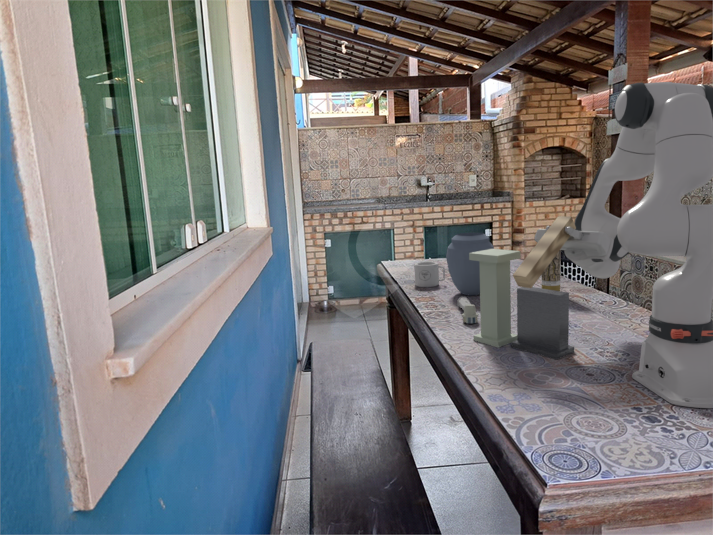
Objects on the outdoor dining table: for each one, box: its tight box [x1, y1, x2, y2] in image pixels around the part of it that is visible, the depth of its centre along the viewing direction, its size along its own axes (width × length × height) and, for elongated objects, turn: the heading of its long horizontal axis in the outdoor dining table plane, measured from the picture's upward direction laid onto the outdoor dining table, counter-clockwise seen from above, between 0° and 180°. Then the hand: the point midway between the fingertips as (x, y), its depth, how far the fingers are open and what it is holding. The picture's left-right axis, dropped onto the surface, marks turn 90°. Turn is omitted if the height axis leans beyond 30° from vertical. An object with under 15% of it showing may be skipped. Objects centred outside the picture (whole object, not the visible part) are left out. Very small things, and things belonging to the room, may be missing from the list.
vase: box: [445, 232, 495, 296], centre depth 208 cm, size 20×20×24 cm
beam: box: [512, 215, 576, 288], centre depth 136 cm, size 24×4×4 cm
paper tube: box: [541, 250, 562, 291], centre depth 198 cm, size 7×7×25 cm
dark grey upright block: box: [510, 286, 575, 360], centre depth 138 cm, size 8×14×16 cm, turn 36°
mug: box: [413, 260, 446, 288], centre depth 230 cm, size 14×11×10 cm
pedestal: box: [469, 248, 522, 348], centre depth 148 cm, size 10×10×26 cm
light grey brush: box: [456, 296, 479, 324], centre depth 178 cm, size 5×7×25 cm
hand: (557, 228), depth 138 cm, fingers closed on beam, 4 cm apart
